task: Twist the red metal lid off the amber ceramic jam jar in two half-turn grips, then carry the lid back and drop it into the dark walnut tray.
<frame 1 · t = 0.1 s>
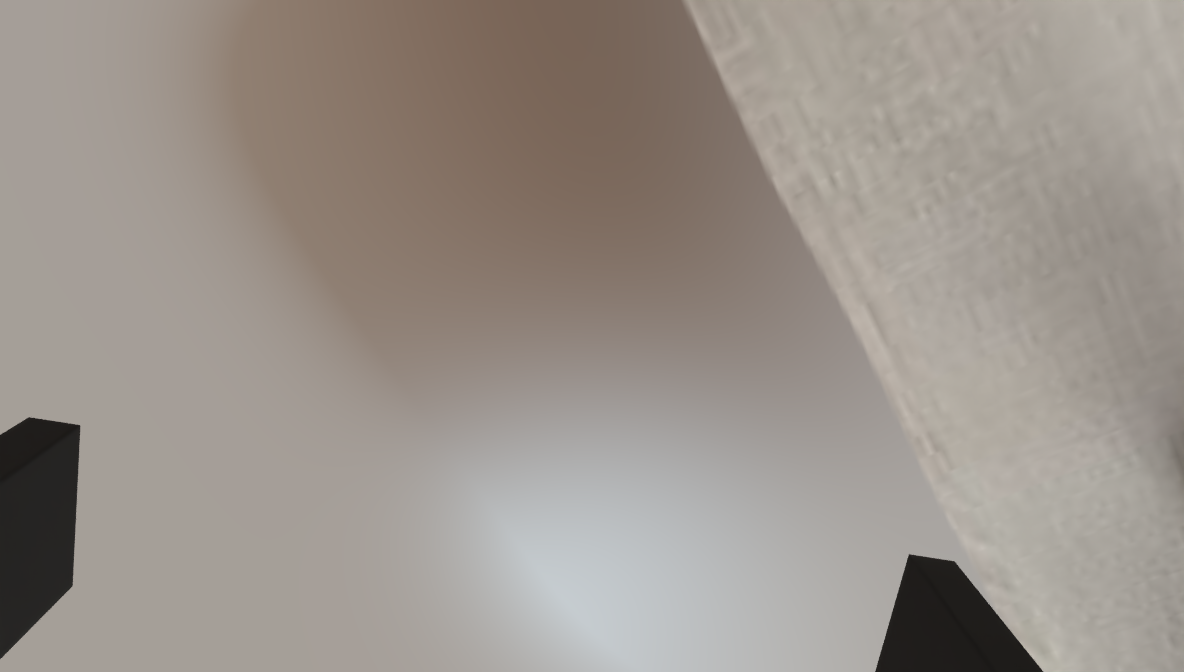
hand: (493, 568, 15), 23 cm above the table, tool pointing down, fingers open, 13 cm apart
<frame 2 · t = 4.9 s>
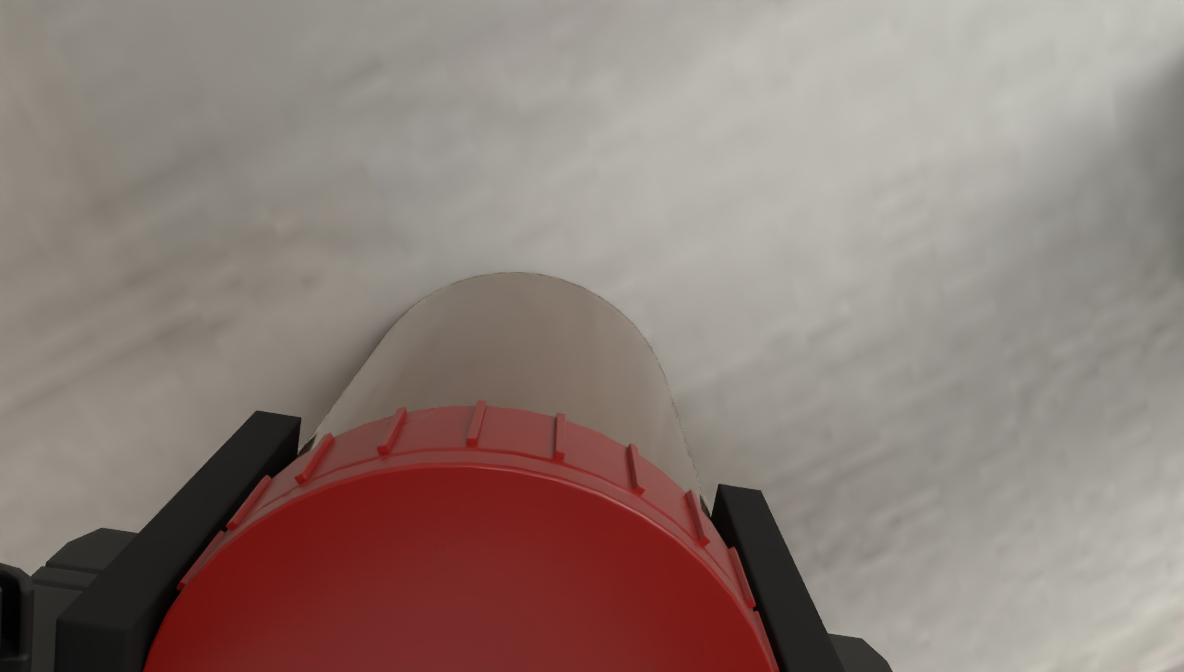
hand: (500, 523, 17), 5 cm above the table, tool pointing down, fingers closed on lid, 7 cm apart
jar: (515, 425, 21), on the table
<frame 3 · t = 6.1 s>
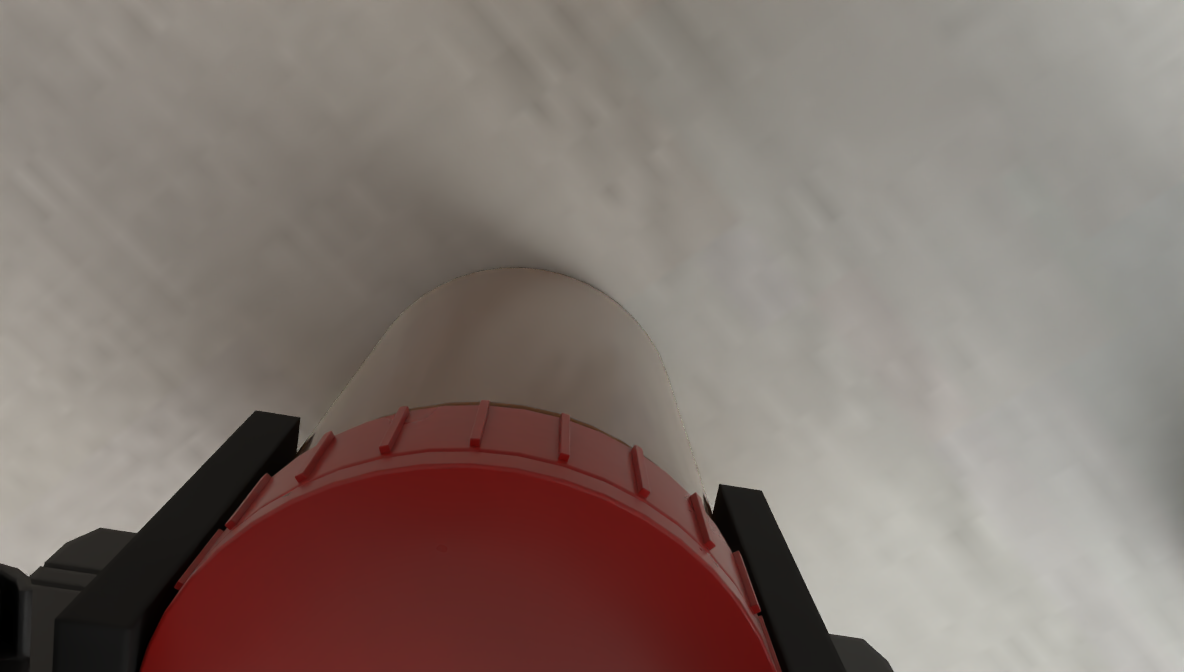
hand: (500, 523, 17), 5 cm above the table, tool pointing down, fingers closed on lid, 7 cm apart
jar: (517, 420, 22), on the table
when the fingers open (5 cm above the table, at t = 7.3 s): lid stays where it is, point 11 cm above the table.
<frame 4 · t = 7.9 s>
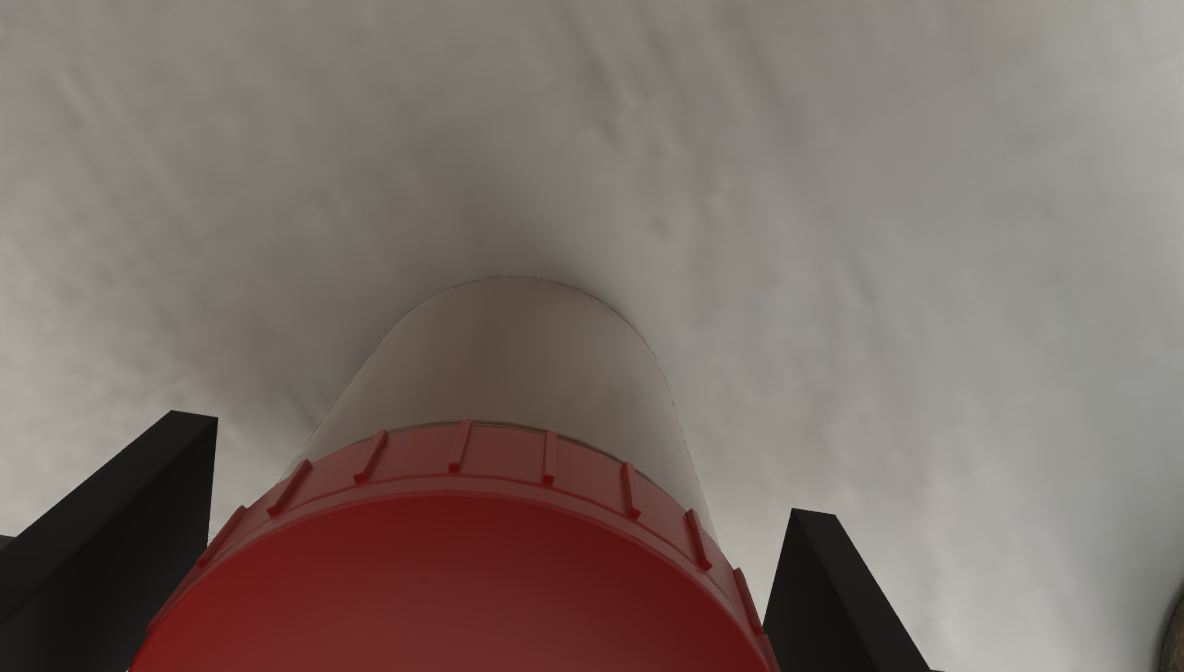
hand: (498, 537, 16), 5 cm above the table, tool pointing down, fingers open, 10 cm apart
jar: (514, 433, 21), on the table
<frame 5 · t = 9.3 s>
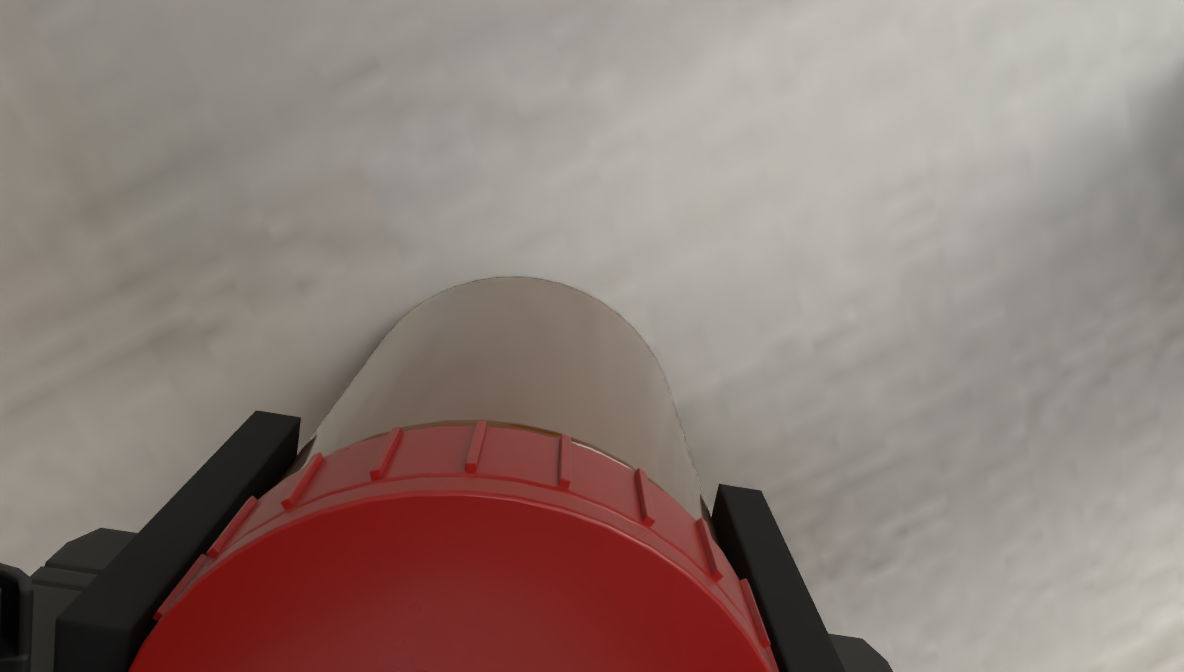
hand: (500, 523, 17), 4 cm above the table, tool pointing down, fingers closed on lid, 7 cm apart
jar: (515, 433, 21), on the table
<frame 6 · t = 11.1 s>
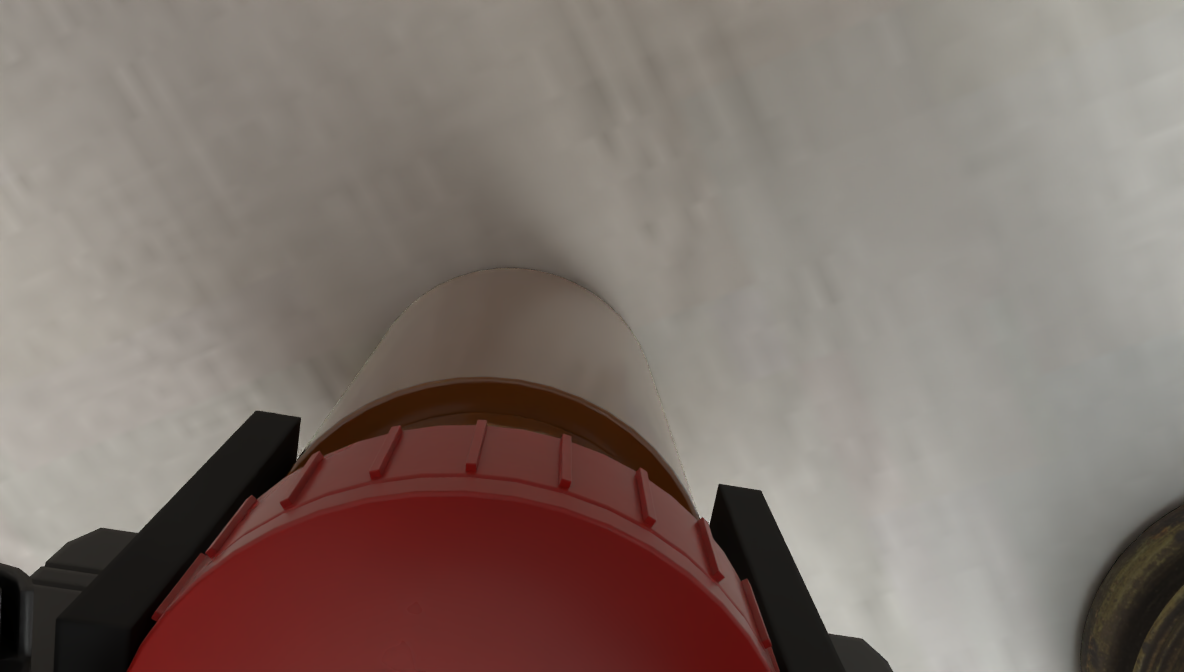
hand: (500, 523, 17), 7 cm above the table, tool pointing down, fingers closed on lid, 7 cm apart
jar: (511, 408, 23), on the table
when the fingers open (3 cm above the table, at t = 18.3 s): lid drops 8 cm, resting on tray.
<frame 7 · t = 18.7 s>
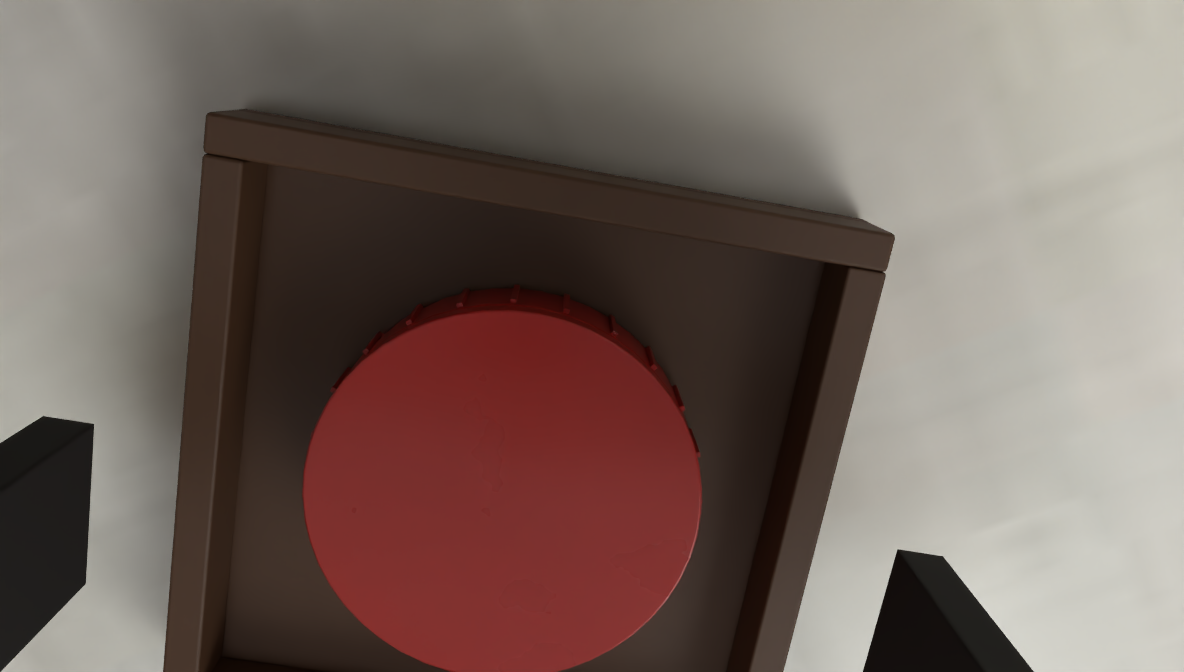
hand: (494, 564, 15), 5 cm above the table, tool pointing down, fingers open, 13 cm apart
tray: (511, 454, 20), on the table
lid: (504, 495, 18), point 2 cm above the table, off its thread, touching tray
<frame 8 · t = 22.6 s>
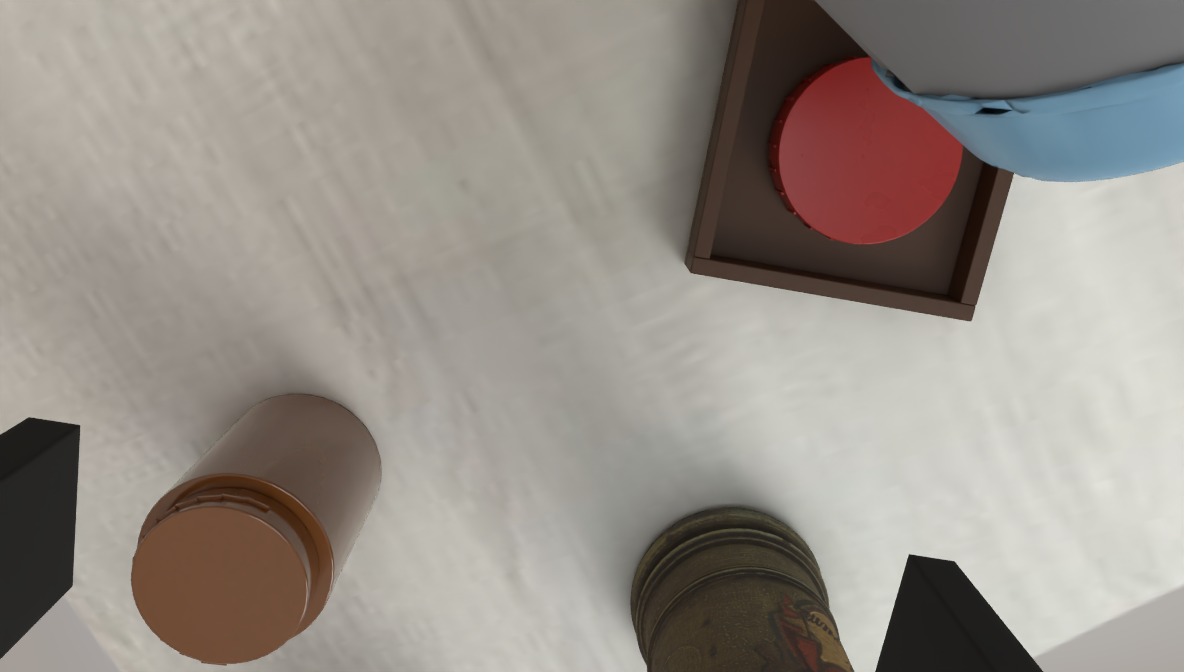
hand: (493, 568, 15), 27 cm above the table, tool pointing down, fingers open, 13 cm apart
container: (723, 590, 45), on the table
tray: (853, 148, 40), on the table
jar: (302, 467, 43), on the table
lid: (867, 152, 38), point 2 cm above the table, off its thread, touching tray
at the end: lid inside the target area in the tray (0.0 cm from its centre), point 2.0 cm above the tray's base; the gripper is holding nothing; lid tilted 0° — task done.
